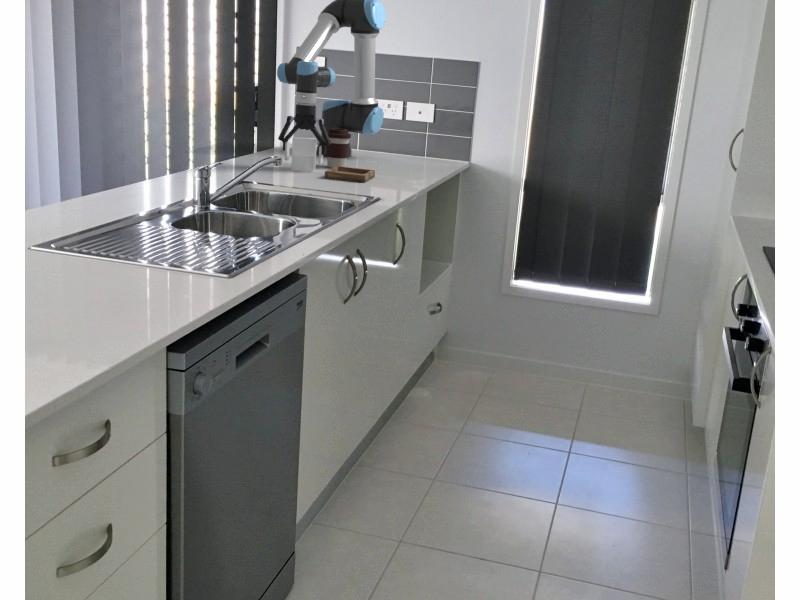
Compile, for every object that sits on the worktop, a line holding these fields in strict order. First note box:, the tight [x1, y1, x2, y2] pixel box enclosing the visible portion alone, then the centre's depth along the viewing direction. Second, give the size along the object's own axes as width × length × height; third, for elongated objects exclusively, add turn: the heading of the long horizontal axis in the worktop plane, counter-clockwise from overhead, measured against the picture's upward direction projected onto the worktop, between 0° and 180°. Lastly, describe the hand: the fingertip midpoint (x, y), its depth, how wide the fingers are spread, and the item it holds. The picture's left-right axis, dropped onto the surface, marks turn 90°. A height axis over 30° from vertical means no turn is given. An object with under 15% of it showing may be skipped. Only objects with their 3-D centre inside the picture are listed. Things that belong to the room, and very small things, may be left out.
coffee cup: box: [326, 128, 352, 169], centre depth 333 cm, size 10×10×15 cm
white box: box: [290, 136, 318, 173], centre depth 322 cm, size 9×9×12 cm
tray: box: [324, 166, 376, 184], centre depth 314 cm, size 15×15×2 cm
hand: (303, 161), depth 322 cm, fingers open, 13 cm apart
